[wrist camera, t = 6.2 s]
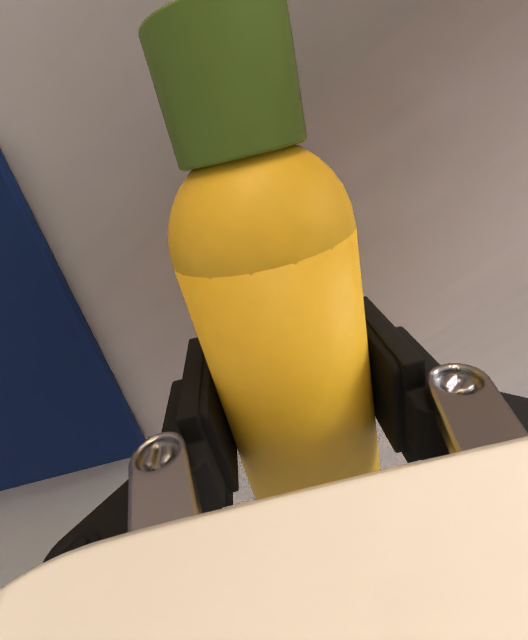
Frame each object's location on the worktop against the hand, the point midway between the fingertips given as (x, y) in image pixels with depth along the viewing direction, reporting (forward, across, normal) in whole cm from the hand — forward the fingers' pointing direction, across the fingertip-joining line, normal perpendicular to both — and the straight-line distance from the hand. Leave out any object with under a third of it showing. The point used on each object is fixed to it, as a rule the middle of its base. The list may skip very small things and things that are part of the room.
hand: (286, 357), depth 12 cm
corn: (+1, 0, -1) cm, 1 cm away
